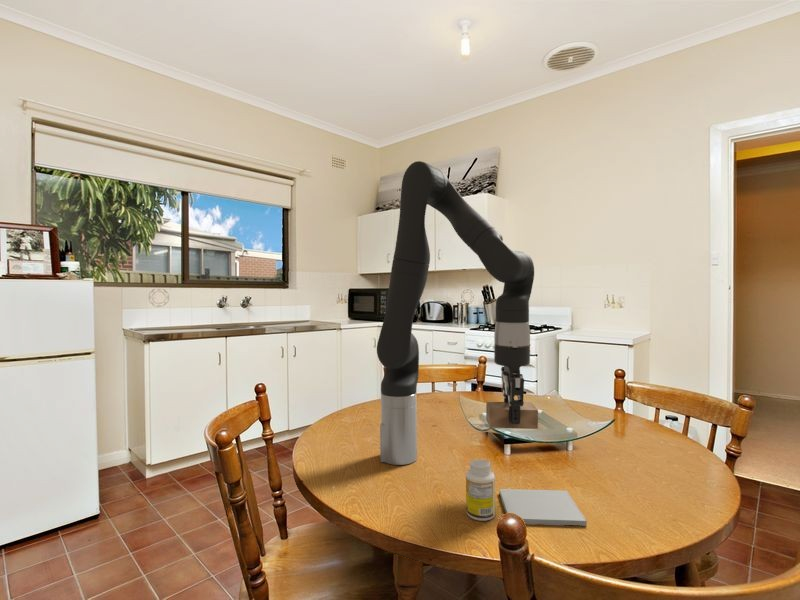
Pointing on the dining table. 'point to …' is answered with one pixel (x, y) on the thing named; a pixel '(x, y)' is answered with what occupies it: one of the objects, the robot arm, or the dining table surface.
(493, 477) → the supplement bottle
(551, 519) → the slate board
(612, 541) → the dining table surface
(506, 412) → the walnut block
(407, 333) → the robot arm
